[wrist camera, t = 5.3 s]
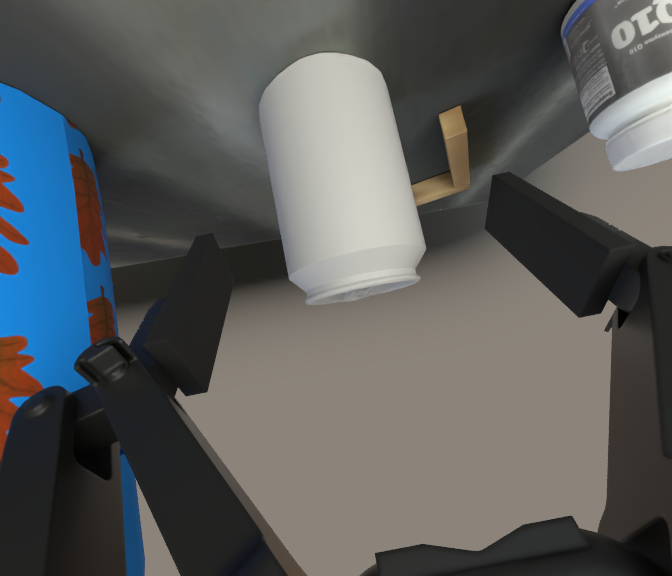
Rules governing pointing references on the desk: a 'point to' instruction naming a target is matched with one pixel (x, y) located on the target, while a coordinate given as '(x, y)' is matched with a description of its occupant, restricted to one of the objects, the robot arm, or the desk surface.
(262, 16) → the desk surface
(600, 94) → the pill bottle
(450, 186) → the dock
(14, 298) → the thermos
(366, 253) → the can
